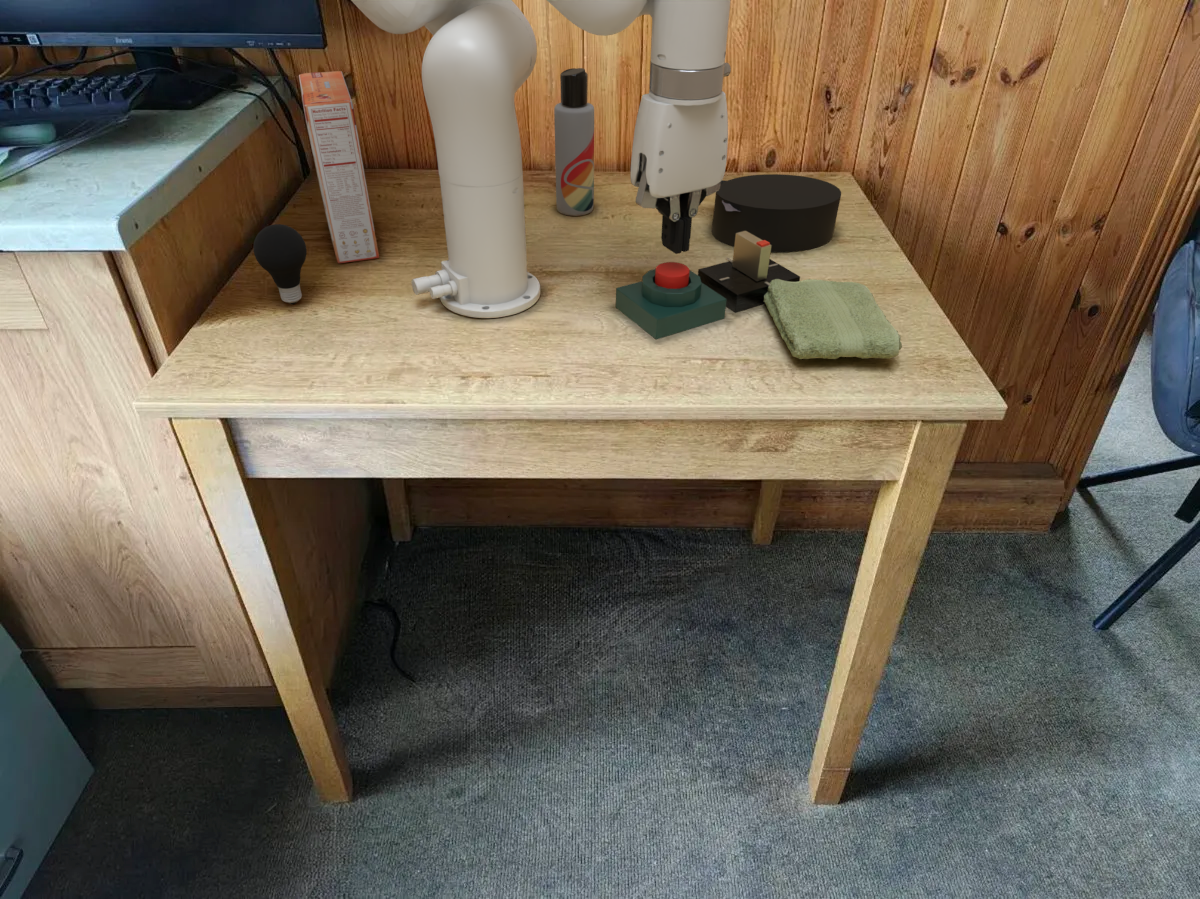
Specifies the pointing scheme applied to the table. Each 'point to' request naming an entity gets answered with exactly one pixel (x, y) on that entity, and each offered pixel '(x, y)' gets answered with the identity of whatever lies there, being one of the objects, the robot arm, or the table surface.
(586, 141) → the lotion bottle
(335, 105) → the cracker box
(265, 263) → the light bulb
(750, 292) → the dial panel
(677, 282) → the button
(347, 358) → the table surface
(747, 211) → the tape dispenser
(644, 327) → the button block
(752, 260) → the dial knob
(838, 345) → the washcloth
